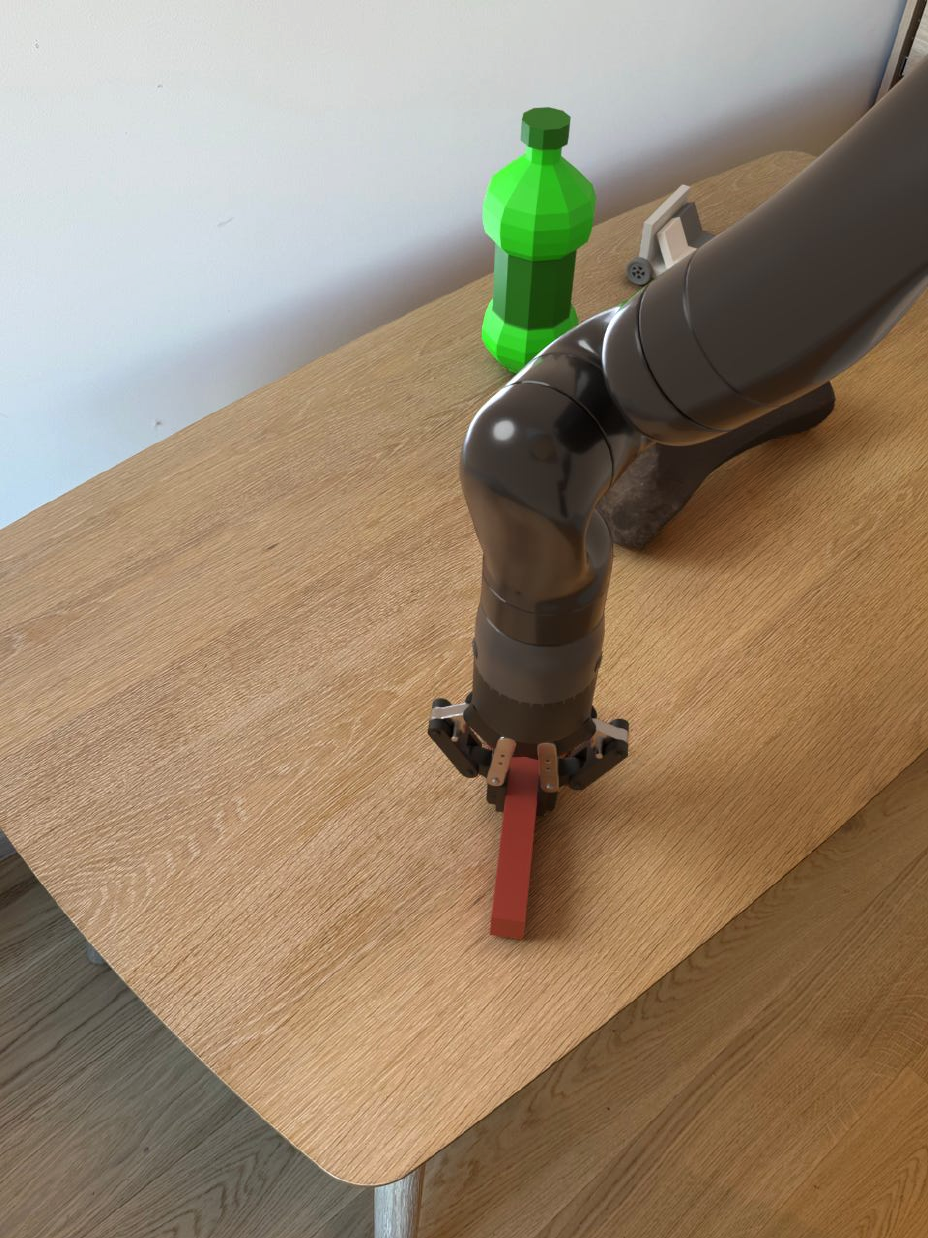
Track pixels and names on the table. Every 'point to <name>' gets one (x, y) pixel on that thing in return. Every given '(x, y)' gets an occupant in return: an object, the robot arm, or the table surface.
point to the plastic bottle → (535, 241)
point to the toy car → (668, 237)
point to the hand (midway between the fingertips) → (520, 803)
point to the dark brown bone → (695, 468)
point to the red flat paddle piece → (515, 849)
